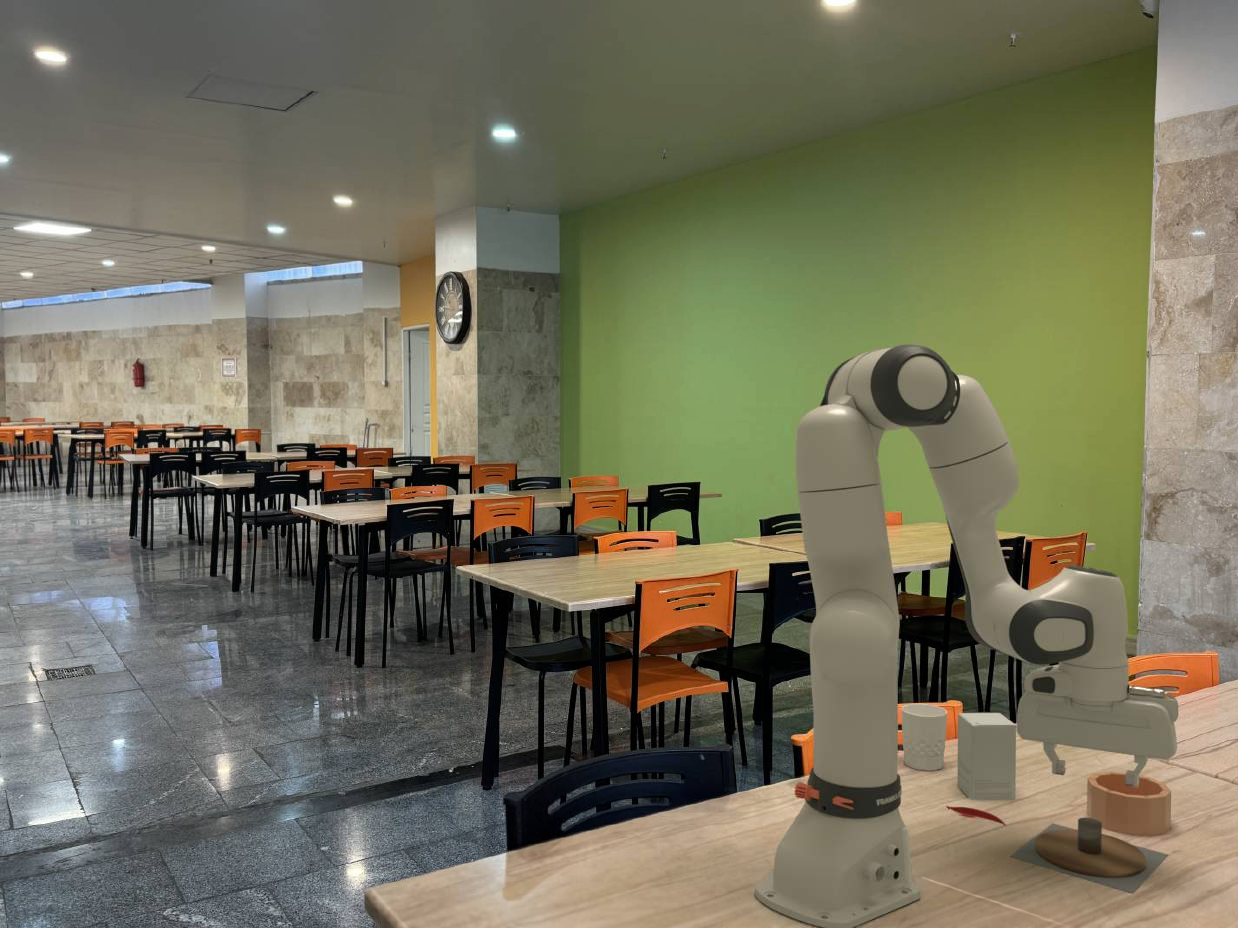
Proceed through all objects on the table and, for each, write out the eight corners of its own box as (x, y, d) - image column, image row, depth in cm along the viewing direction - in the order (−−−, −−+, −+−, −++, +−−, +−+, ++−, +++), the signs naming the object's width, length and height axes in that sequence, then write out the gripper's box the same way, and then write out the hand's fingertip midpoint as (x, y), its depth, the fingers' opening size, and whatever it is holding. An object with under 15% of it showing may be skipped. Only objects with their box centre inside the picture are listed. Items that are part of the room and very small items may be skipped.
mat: (1132, 896, 128) (1132, 893, 128) (1009, 858, 140) (1009, 856, 140) (1168, 857, 140) (1168, 854, 140) (1052, 825, 151) (1052, 823, 151)
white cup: (892, 759, 181) (892, 705, 181) (929, 755, 183) (929, 701, 183) (917, 774, 173) (918, 717, 173) (955, 769, 176) (956, 713, 175)
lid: (1127, 888, 130) (1127, 851, 130) (1019, 856, 140) (1020, 822, 139) (1158, 854, 140) (1159, 820, 140) (1056, 826, 150) (1056, 795, 149)
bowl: (1156, 844, 144) (1157, 803, 144) (1077, 823, 152) (1078, 784, 152) (1178, 822, 152) (1178, 783, 152) (1102, 803, 160) (1102, 766, 160)
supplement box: (1016, 802, 161) (1017, 724, 160) (970, 801, 161) (971, 724, 160) (1000, 785, 168) (1001, 711, 168) (956, 785, 168) (956, 711, 168)
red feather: (935, 810, 159) (935, 798, 158) (956, 805, 161) (957, 793, 161) (994, 838, 148) (994, 825, 148) (1016, 832, 150) (1016, 819, 150)
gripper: (1180, 685, 136) (1182, 785, 136) (1023, 668, 147) (1024, 761, 148) (1175, 696, 130) (1176, 800, 131) (1012, 678, 142) (1014, 773, 143)
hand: (1094, 779), depth 139 cm, fingers open, 8 cm apart
